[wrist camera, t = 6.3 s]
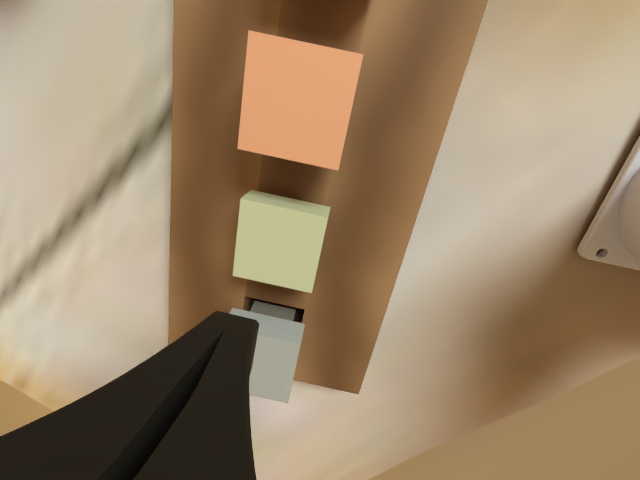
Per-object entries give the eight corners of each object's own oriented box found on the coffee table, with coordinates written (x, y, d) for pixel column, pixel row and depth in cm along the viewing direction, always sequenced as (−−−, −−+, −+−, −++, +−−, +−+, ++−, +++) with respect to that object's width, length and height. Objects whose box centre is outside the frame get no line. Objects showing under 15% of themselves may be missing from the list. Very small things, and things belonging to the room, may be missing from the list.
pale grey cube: (309, 302, 18) (300, 344, 15) (298, 354, 20) (287, 403, 17) (244, 287, 18) (220, 327, 15) (238, 340, 20) (215, 386, 17)
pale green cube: (332, 196, 17) (328, 217, 14) (319, 260, 19) (311, 293, 15) (262, 180, 17) (240, 198, 14) (254, 245, 19) (232, 275, 15)
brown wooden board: (515, -130, 12) (544, -172, 10) (357, 370, 22) (358, 394, 20) (204, -193, 12) (178, -246, 11) (183, 331, 22) (168, 351, 20)
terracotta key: (361, 67, 14) (363, 54, 11) (341, 156, 15) (338, 170, 12) (273, 48, 14) (248, 29, 11) (262, 139, 15) (237, 149, 12)
